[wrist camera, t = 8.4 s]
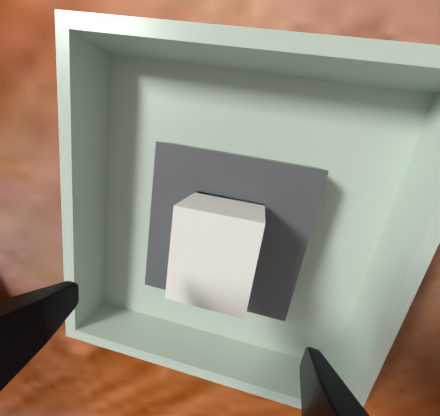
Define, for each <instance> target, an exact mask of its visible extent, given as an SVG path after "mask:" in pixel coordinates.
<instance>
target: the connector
mask: <svg viewBox="0 0 440 416" xmlns="http://www.w3.org/2000/svg"><path fill="white" fill-rule="evenodd" d="M265 224H266V223H265V206H264V205H259V204H254V203H252V202H247V201H241V200H236V199H231V198H225V197H220V196H215V195H213V196H211V195H206V194H200V193H193V194H191V195H190V196H188V197H187V198H185V199H183V200H182V201H180V202H178V203H177V204H175V205H174V206H173V217H172V227H171V238H170V248H169V259H168V269H167V280H166V290H165V299H169V300H173V301H176V302H180V303H184V304H188V305H192V306H196V307H200V308H203V309H207V310H211V311H215V312H219V313H223V314H227V315H231V316H234V317H238V318H242V319H245V317H246V312H247V307H248V303H249V298H250V293H251V289H252V284H253V279H254V275H255V270H256V265H257V261H258V256H259V252H260V247H261V242H262V238H263V233H264V228H265Z"/></svg>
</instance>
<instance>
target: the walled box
mask: <svg viewBox="0 0 440 416" xmlns="http://www.w3.org/2000/svg"><path fill="white" fill-rule="evenodd" d="M55 36H56V64H57V93H58V122H59V150H60V179H61V207H62V236H63V265H64V282H65V281H71V282H75V283H77V284H78V285H79V302H78V304H77V306H76V308H75V309H74V310H73V311H72V312H71V314H70V315H69V316H68V317H67V319H66V320H65V322H66V336H68V337H71V338H75V339H78V340H81V341H84V342H87V343H91V344H94V345H97V346H100V347H103V348H107V349H110V350H113V351H116V352H119V353H123V354H126V355H129V356H132V357H135V358H139V359H142V360H145V361H148V362H151V363H155V364H158V365H161V366H164V367H168V368H171V369H174V370H177V371H180V372H184V373H187V374H190V375H193V376H196V377H200V378H203V379H206V380H209V381H212V382H216V383H219V384H222V385H225V386H228V387H232V388H235V389H238V390H241V391H244V392H248V393H251V394H254V395H257V396H260V397H264V398H267V399H270V400H273V401H277V402H280V403H283V404H286V405H289V406H293V407H296V408H299V409H302V408H301V390H300V371H299V370H300V363H301V360H302V357H303V354H304V351H305V349H306V347H312V348H315V349H318V350H320V351H321V353H322V354H323V355H324V357H325V358H326V359H327V361H328V362H329V363H330V365H331V366H332V367H333V368H334V370H335V371H336V372H337V374H338V375H339V376H340V378H341V379H342V380H343V382H344V383H345V384H346V386H347V387H348V388H349V390H350V391H351V392H352V393H353V395H354V396H355V397H356V399H357V400H358V401H359V403H360V404H361V405H362V407H364V405H365V402H366V400H367V398H368V396H369V394H370V392H371V390H372V387H373V385H374V383H375V381H376V379H377V377H378V374H379V372H380V370H381V368H382V366H383V364H384V362H385V359H386V357H387V355H388V353H389V351H390V349H391V346H392V344H393V342H394V340H395V338H396V336H397V334H398V331H399V329H400V327H401V325H402V323H403V321H404V318H405V316H406V314H407V312H408V310H409V308H410V306H411V303H412V301H413V299H414V297H415V295H416V293H417V291H418V288H419V286H420V284H421V282H422V280H423V278H424V275H425V273H426V271H427V269H428V267H429V265H430V263H431V260H432V258H433V256H434V254H435V252H436V250H437V247H438V245H439V243H440V45H433V44H422V43H412V42H401V41H390V40H379V39H369V38H358V37H347V36H336V35H326V34H315V33H304V32H294V31H283V30H272V29H261V28H251V27H240V26H229V25H219V24H208V23H197V22H186V21H176V20H165V19H154V18H144V17H133V16H122V15H111V14H101V13H90V12H79V11H69V10H58V9H55ZM193 193H200V194H206V195H211V196H213V195H215V196H220V197H225V198H231V199H236V200H241V201H247V202H252V203H254V204H259V205H264V206H265V223H266V224H265V228H264V233H263V238H262V242H261V247H260V252H259V256H258V261H257V265H256V270H255V275H254V279H253V284H252V289H251V293H250V298H249V303H248V307H247V312H246V317H245V319H242V318H238V317H234V316H231V315H227V314H223V313H219V312H215V311H211V310H207V309H203V308H200V307H196V306H192V305H188V304H184V303H180V302H176V301H173V300H169V299H165V290H166V280H167V269H168V259H169V248H170V238H171V227H172V217H173V206H174V205H175V204H177V203H178V202H180V201H182V200H183V199H185V198H187V197H188V196H190V195H191V194H193Z"/></svg>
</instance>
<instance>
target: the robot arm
mask: <svg viewBox="0 0 440 416" xmlns="http://www.w3.org/2000/svg"><path fill="white" fill-rule="evenodd" d="M78 302H79V285H78V284H77V283H75V282H71V281H65V282H62V283H58V284H55V285H51V286H48V287H45V288H41V289H38V290H34V291H31V292H28V293H24V294H21V295H17V296H14V297H11V298H7V299H4V300H0V391H1V390H2V389H3V388H4V387H5V386H6V385H7V384H8V383H9V382H10V381H11V380H12V379H13V378H14V377H15V376H16V374H17V373H18V372H19V371H20V370H21V369H22V368H23V367H24V366H25V365H26V364H27V363H28V362H29V361H30V360H31V359H32V358H33V357H34V356H35V355H36V354H37V352H38V351H39V350H40V349H41V348H42V347H43V346H44V345H45V344H46V343H47V342H48V341H49V339H50V338H51V337H52V336H53V335H54V333H55V332H56V331H57V330H58V328H59V327H60V326H61V325H62V324H63V322H64V321H65V320H66V319H67V317H68V316H69V315H70V314H71V312H72V311H73V310H74V309H75V308H76V306H77V304H78ZM299 371H300V390H301V408H302V416H369V414H368V413H367V412H366V411H365V409H364V408H363V407H362V405H361V404H360V403H359V401H358V400H357V399H356V397H355V396H354V395H353V393H352V392H351V391H350V390H349V388H348V387H347V386H346V384H345V383H344V382H343V380H342V379H341V378H340V376H339V375H338V374H337V372H336V371H335V370H334V368H333V367H332V366H331V365H330V363H329V362H328V361H327V359H326V358H325V357H324V355H323V354H322V353H321V351H320V350H318V349H315V348H312V347H306V349H305V351H304V354H303V357H302V360H301V363H300V370H299Z"/></svg>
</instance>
